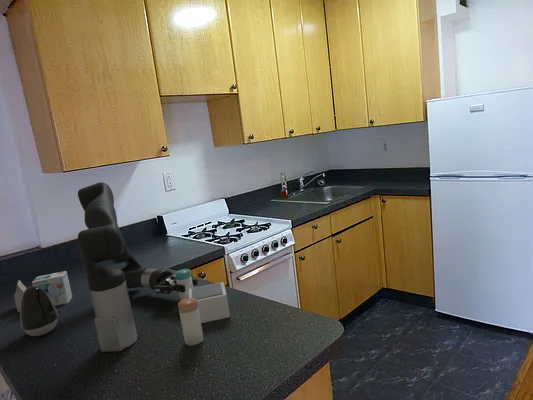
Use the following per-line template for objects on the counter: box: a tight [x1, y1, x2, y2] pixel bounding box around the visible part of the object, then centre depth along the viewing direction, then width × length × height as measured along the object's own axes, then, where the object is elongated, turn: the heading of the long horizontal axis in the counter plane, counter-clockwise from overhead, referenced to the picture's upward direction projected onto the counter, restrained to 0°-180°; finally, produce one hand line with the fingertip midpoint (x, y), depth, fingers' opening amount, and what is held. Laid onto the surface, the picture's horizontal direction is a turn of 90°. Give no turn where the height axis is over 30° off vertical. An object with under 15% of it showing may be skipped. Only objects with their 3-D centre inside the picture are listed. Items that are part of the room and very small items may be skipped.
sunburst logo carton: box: [13, 279, 27, 313], centre depth 146 cm, size 4×7×10 cm, turn 28°
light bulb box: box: [31, 270, 73, 307], centre depth 146 cm, size 11×7×11 cm, turn 105°
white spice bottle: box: [177, 298, 205, 346], centre depth 103 cm, size 5×5×11 cm
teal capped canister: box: [174, 268, 194, 302], centre depth 128 cm, size 5×5×11 cm
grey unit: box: [189, 281, 231, 324], centre depth 119 cm, size 11×11×7 cm
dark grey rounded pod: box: [19, 285, 59, 337], centre depth 122 cm, size 10×10×15 cm
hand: (190, 285), depth 127 cm, fingers closed on teal capped canister, 5 cm apart
